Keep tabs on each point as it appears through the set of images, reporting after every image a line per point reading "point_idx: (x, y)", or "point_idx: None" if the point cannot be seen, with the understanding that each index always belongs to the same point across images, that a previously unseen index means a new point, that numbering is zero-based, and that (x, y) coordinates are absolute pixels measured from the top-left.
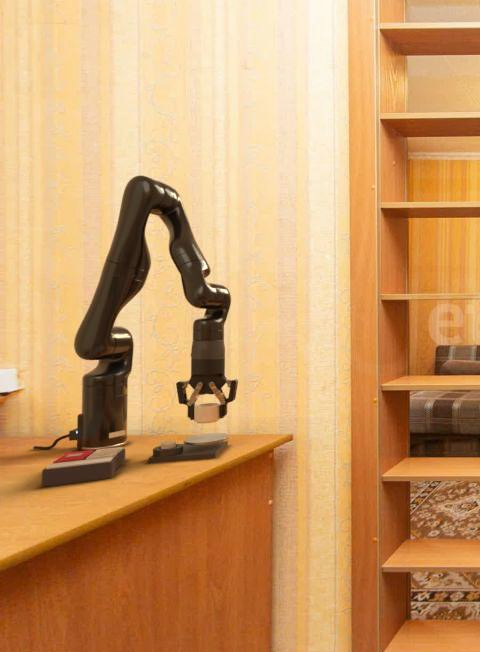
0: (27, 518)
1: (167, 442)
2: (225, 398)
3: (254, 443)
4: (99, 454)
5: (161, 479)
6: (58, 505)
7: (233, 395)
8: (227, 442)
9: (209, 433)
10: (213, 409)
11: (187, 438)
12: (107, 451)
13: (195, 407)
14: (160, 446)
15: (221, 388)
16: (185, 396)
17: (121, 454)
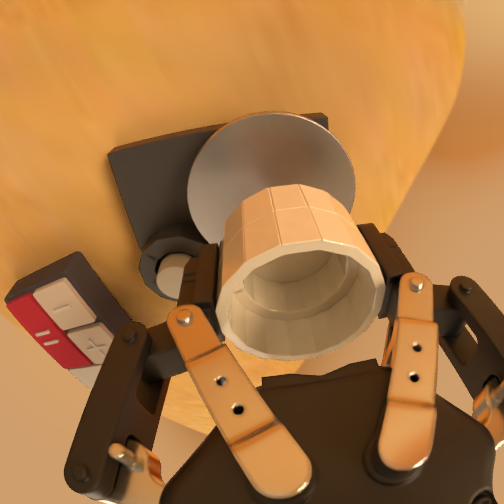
0: (182, 418)
1: (175, 284)
2: (425, 307)
3: (407, 100)
4: (93, 350)
5: (260, 360)
6: (182, 405)
7: (470, 351)
8: (327, 121)
9: (251, 118)
10: (344, 326)
11: (194, 201)
12: (77, 323)
13: (246, 348)
14: (149, 264)
15: (435, 371)
16: (136, 371)
17: (102, 311)
